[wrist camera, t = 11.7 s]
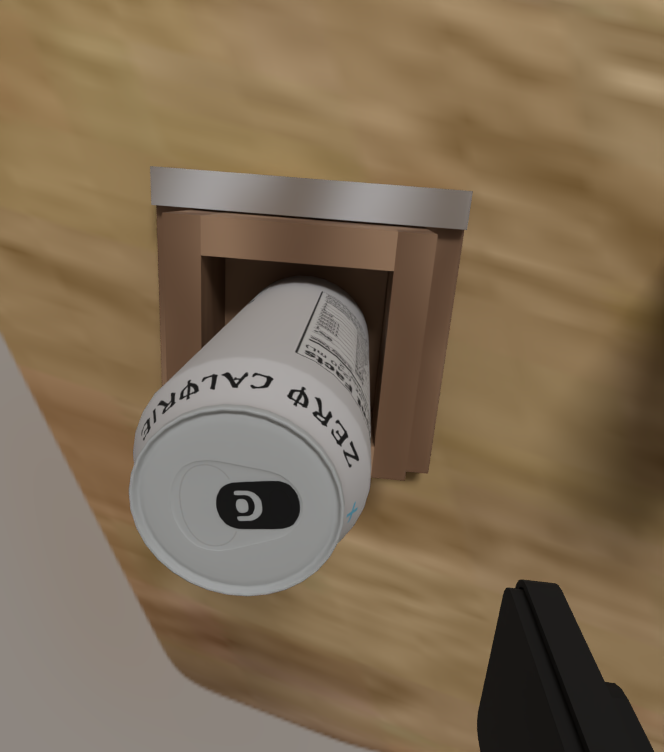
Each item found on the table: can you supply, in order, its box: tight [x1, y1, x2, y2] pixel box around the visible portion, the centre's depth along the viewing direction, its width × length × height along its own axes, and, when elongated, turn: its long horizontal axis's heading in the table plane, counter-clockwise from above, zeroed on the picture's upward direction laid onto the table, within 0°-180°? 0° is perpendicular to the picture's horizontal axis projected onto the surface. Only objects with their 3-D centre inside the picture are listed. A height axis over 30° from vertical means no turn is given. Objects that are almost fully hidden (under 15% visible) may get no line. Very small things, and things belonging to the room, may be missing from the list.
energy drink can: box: [129, 276, 371, 596], centre depth 19 cm, size 6×6×15 cm
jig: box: [150, 166, 473, 481], centre depth 25 cm, size 14×14×6 cm
